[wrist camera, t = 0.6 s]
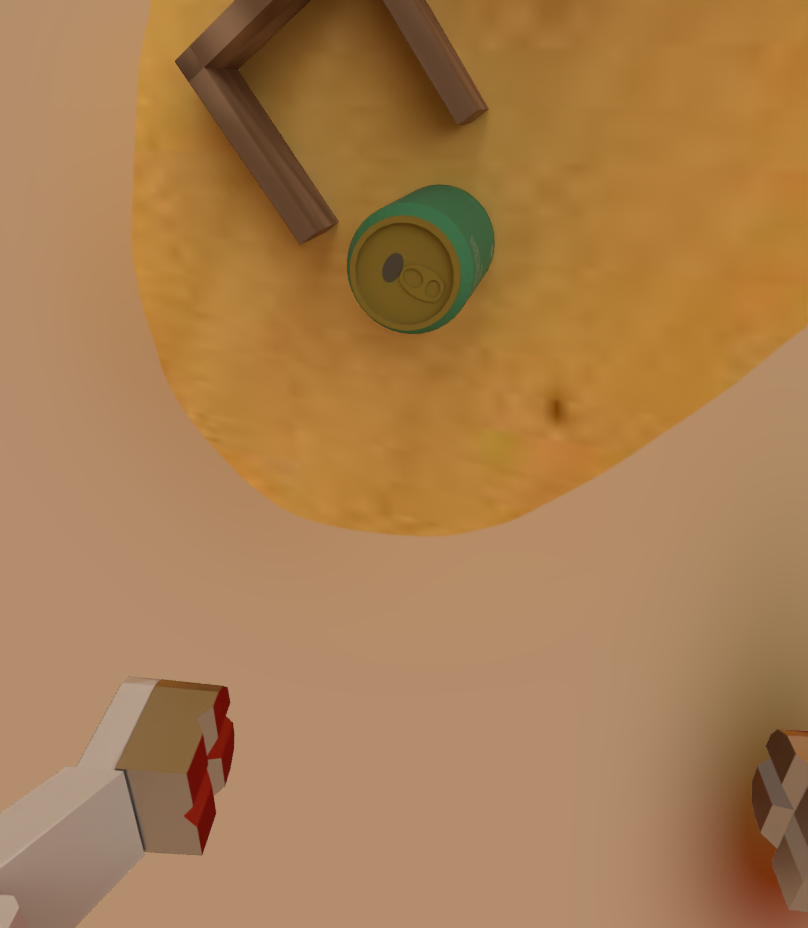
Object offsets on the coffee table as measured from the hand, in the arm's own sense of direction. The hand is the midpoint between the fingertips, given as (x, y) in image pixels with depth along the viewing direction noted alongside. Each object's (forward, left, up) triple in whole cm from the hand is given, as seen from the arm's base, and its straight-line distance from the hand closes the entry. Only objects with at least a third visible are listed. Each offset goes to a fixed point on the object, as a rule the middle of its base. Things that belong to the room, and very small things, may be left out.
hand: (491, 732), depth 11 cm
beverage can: (+9, -5, -47) cm, 48 cm away
